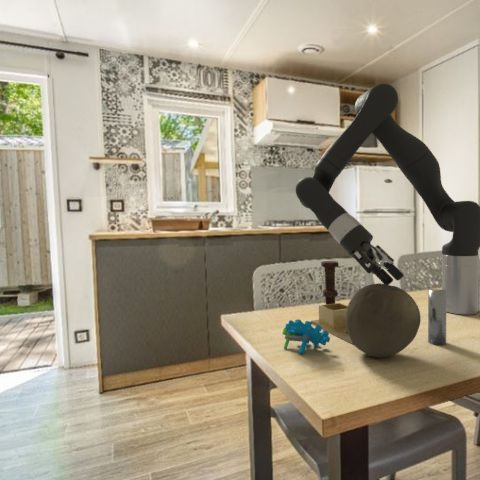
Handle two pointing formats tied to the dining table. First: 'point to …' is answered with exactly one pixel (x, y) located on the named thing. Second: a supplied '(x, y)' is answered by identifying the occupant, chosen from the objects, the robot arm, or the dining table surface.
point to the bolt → (330, 281)
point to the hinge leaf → (333, 320)
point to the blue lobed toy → (304, 334)
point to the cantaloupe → (382, 320)
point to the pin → (437, 317)
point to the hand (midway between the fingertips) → (395, 280)
